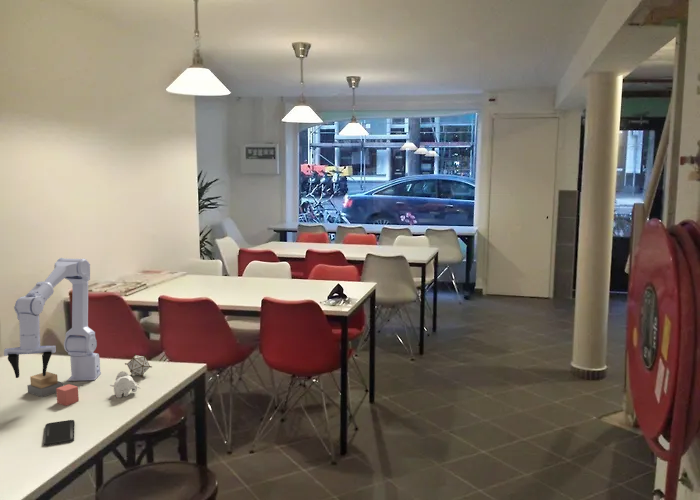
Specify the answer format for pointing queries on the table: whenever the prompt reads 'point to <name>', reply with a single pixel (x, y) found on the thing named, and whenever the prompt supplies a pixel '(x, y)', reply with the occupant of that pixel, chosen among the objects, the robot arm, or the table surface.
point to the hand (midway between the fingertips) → (31, 376)
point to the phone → (59, 433)
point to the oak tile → (44, 380)
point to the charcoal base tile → (44, 389)
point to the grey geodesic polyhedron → (138, 365)
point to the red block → (67, 394)
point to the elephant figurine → (124, 385)
